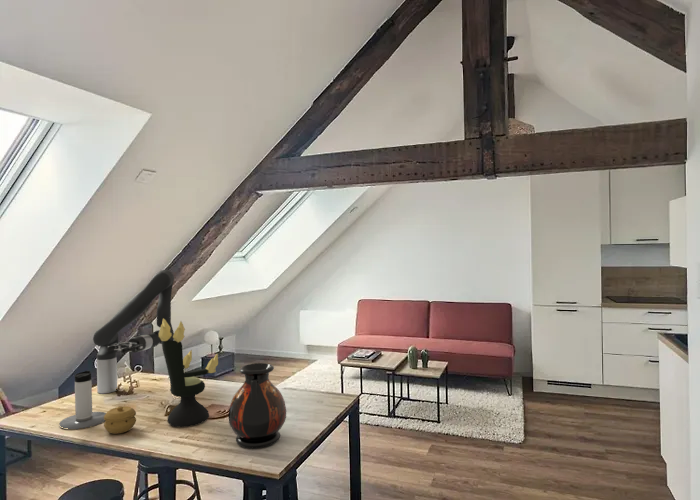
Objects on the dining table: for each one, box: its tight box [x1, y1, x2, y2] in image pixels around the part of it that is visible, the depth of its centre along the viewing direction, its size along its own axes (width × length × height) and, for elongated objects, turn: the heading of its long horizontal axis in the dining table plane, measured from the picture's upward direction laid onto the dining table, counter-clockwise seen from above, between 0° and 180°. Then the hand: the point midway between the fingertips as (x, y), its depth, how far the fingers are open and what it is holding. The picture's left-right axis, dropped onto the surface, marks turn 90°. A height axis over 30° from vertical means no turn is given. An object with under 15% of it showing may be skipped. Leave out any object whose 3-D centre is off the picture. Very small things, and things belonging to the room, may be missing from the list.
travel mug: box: [74, 370, 93, 422], centre depth 197 cm, size 6×7×20 cm
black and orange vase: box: [227, 362, 287, 449], centre depth 174 cm, size 22×22×28 cm
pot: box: [103, 405, 137, 435], centre depth 186 cm, size 12×12×10 cm
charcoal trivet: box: [59, 411, 107, 430], centre depth 197 cm, size 18×18×1 cm
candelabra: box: [159, 318, 219, 428], centre depth 193 cm, size 19×22×45 cm
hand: (114, 350), depth 213 cm, fingers open, 8 cm apart
